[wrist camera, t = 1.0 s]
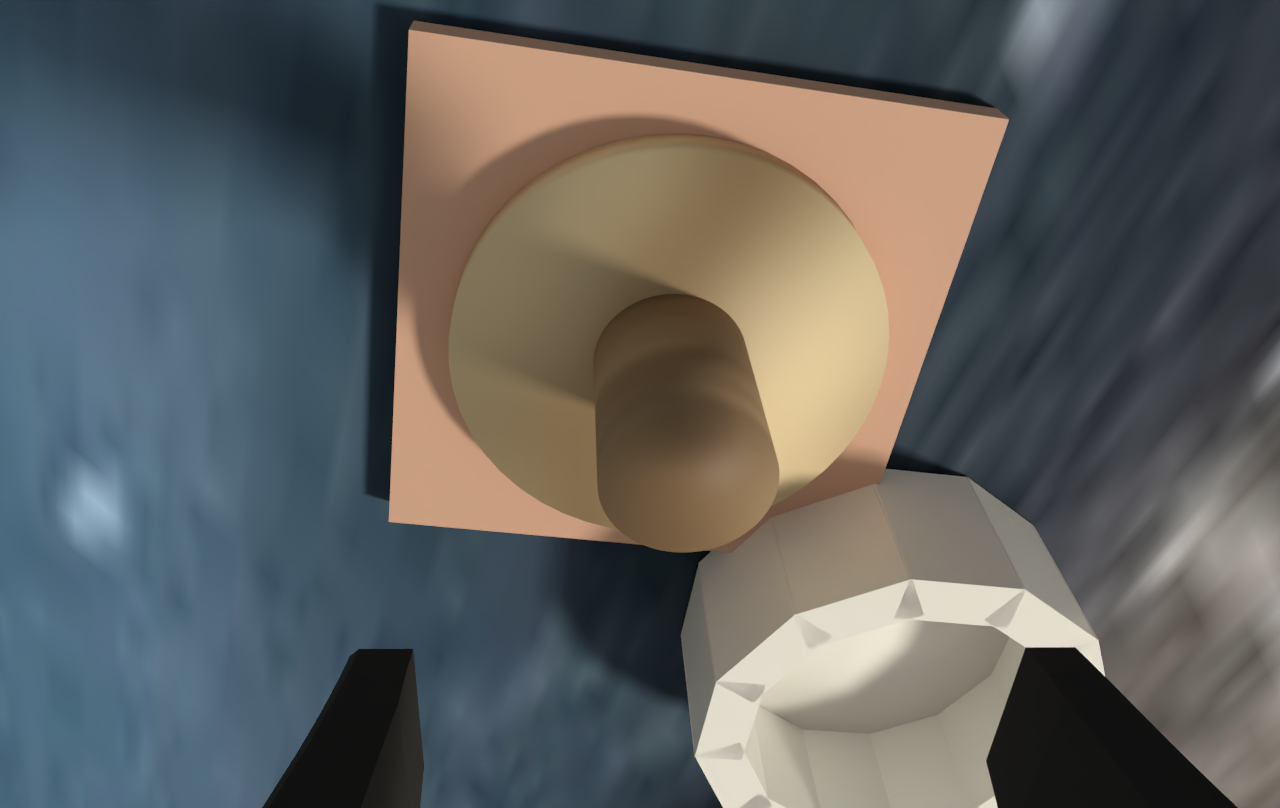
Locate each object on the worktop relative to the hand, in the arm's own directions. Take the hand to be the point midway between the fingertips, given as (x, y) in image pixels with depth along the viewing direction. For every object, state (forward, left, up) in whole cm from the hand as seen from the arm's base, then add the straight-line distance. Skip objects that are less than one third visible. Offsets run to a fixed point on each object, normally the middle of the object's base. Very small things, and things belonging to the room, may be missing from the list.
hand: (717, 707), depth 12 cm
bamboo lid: (0, 0, -9) cm, 9 cm away
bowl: (-6, +7, -9) cm, 13 cm away
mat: (0, 0, -9) cm, 9 cm away
